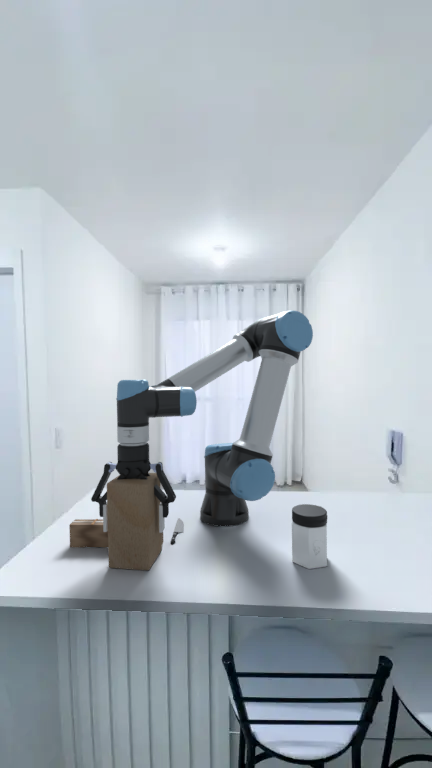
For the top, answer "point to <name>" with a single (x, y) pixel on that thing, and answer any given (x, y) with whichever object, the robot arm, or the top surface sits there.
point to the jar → (309, 536)
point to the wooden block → (133, 523)
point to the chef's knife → (177, 529)
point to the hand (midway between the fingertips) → (134, 530)
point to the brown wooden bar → (89, 533)
